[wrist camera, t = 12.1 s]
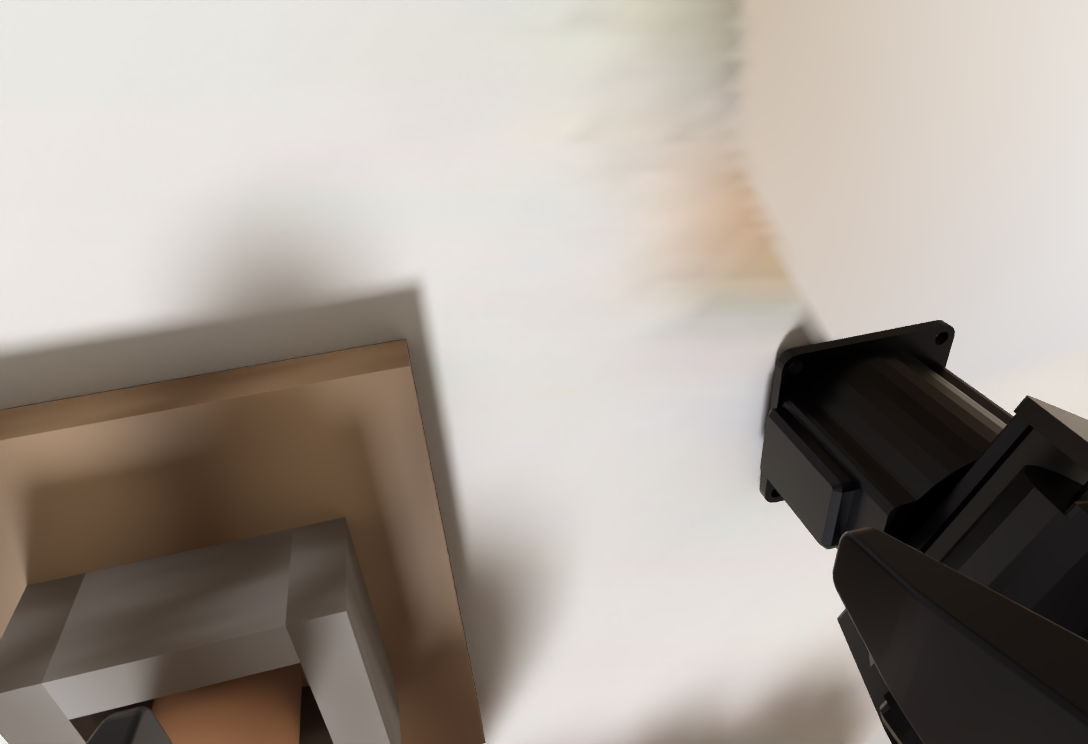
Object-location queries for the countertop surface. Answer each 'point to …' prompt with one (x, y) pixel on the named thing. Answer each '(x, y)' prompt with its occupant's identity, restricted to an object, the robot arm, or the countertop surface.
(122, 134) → the countertop surface
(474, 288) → the countertop surface
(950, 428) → the robot arm
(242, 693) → the peg
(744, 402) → the countertop surface
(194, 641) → the socket board
